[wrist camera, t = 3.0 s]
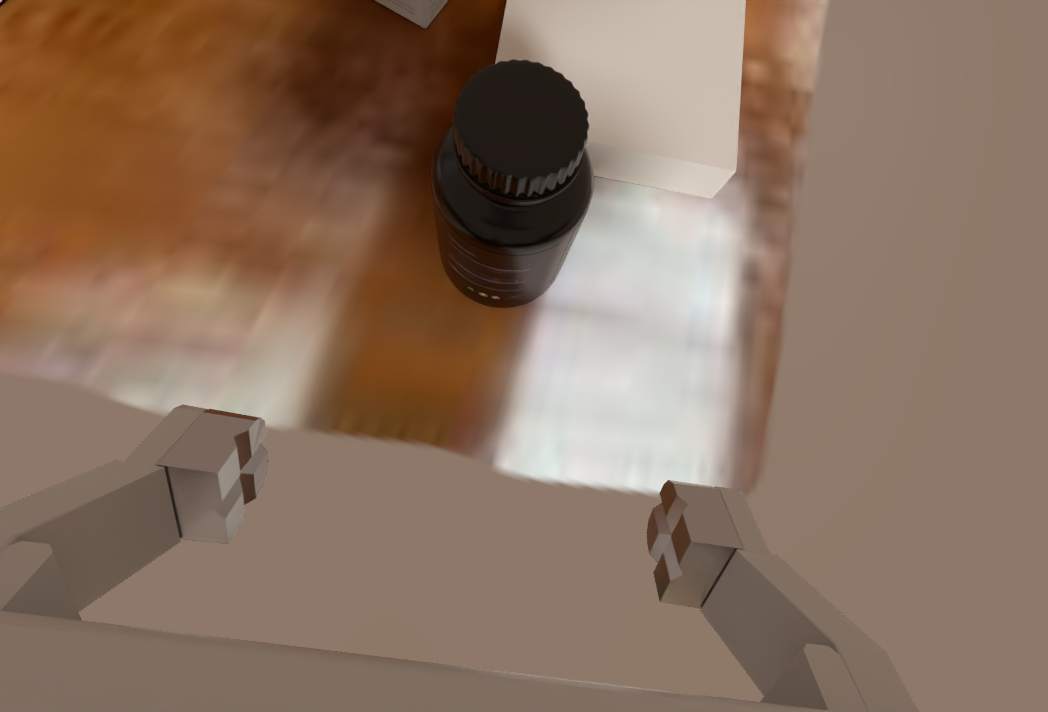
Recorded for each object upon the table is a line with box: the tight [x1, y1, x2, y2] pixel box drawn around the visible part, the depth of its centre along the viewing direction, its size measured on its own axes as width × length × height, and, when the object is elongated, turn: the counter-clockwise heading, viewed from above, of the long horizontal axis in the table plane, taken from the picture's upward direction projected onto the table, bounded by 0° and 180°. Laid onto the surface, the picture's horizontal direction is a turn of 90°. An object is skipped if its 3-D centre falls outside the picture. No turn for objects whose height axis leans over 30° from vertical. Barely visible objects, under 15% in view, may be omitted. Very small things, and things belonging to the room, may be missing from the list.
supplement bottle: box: [431, 59, 594, 308], centre depth 24 cm, size 7×7×12 cm
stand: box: [495, 0, 746, 199], centre depth 32 cm, size 14×14×3 cm
